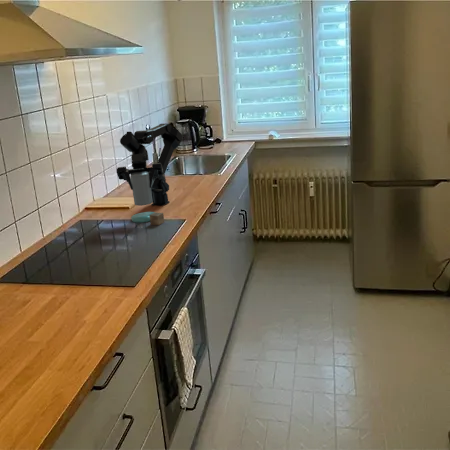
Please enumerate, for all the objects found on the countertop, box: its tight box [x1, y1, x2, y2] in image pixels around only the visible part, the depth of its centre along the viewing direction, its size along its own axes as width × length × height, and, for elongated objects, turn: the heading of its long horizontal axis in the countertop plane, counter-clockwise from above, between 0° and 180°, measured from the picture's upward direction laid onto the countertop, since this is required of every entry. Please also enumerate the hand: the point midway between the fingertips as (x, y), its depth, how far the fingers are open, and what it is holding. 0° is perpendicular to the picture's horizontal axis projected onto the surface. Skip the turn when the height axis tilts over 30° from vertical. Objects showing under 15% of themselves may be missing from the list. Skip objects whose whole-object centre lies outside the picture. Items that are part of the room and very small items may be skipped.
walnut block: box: [149, 211, 165, 226], centre depth 207 cm, size 4×4×4 cm
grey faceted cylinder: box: [130, 172, 153, 206], centre depth 211 cm, size 7×7×12 cm
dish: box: [130, 211, 155, 224], centre depth 216 cm, size 11×11×1 cm
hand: (141, 188), depth 210 cm, fingers closed on grey faceted cylinder, 7 cm apart
